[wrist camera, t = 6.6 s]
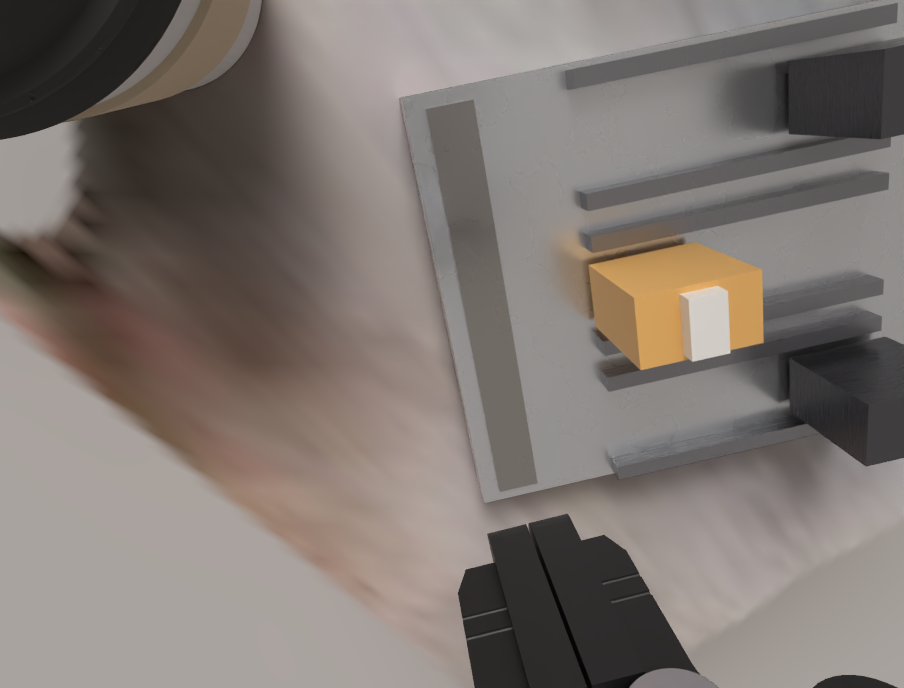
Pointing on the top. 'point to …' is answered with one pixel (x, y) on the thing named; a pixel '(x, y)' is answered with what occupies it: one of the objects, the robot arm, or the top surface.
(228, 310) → the top surface
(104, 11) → the coffee cup
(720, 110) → the breaker panel
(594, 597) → the robot arm
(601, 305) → the toggle
